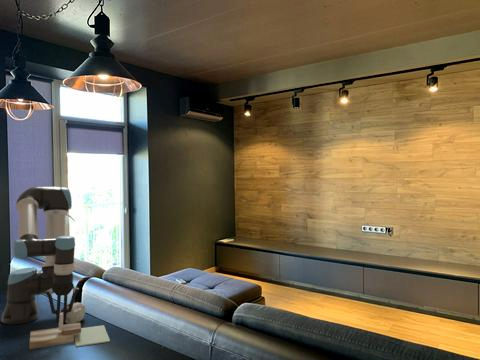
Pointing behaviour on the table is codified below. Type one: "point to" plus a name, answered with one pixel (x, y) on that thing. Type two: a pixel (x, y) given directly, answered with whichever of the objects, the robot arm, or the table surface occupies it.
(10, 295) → the robot arm
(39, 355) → the table surface
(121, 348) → the table surface
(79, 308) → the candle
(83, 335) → the sage mat
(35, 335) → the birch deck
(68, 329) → the walnut tile
